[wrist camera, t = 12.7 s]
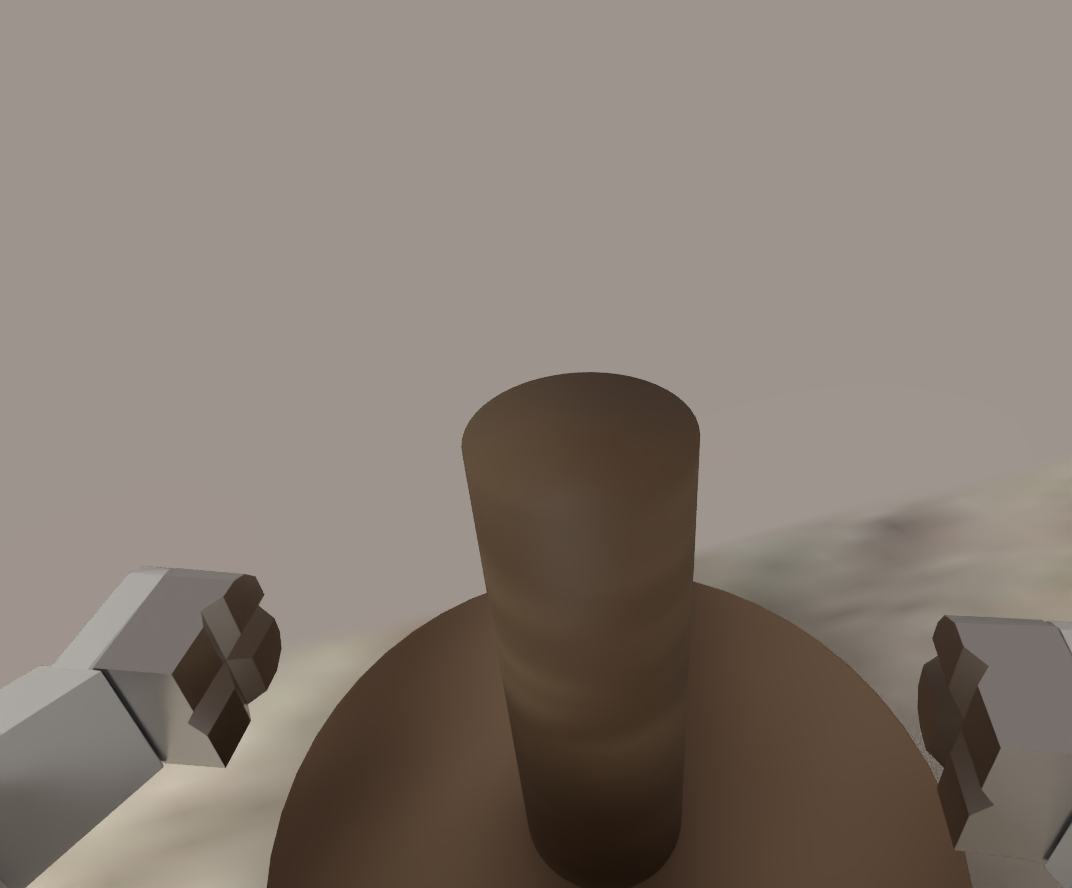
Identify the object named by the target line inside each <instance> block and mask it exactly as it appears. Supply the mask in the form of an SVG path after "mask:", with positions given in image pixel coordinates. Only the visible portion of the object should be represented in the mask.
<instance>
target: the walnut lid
mask: <svg viewBox="0 0 1072 888" xmlns="http://www.w3.org/2000/svg"><path fill="white" fill-rule="evenodd" d="M699 447H700V432H699V425H698V422H697V420H696V417H695V416H694V414H693V413H692V411H691V409H690V408H689V407H688V406H687V405H686V404H685V403H684V402H683V401H682V400H681V399H680V398H678V397H677V396H676V395H674V394H673V393H671V392H669V391H668V390H666V389H664V388H662V387H660V386H658V385H656V384H653V383H650V382H648V381H645V380H641V379H638V378H634V377H630V376H625V375H619V374H611V373H596V372H585V373H584V372H583V373H568V374H561V375H554V376H549V377H544V378H540V379H536V380H533V381H529V382H526V383H524V384H521V385H518V386H516V387H513V388H511V389H509V390H507V391H505V392H503V393H501V394H500V395H498V396H496V397H495V398H493V399H492V400H490V401H489V402H488V403H487V404H485V405H484V406H483V407H482V408H480V410H478V411H477V412H476V413H475V415H474V416H473V417H472V419H471V420H470V421H469V423H468V425H467V427H466V429H465V431H464V434H463V438H462V453H463V460H464V466H465V471H466V477H467V483H468V488H469V493H470V500H471V505H472V511H473V517H474V522H475V528H476V533H477V539H478V545H479V550H480V556H481V562H482V567H483V573H484V578H485V584H486V590H487V593H486V594H483V595H481V596H478V597H475V598H472V599H470V600H468V601H466V602H464V603H462V604H460V605H458V606H456V607H454V608H452V609H450V610H448V611H446V612H444V613H442V614H440V615H439V616H437V617H436V618H434V619H432V620H431V621H429V622H428V623H426V624H424V625H423V626H421V627H420V628H418V629H417V630H415V631H413V632H412V633H411V634H409V635H408V636H407V637H406V638H404V639H403V640H402V641H401V642H399V643H398V644H397V645H395V646H394V647H393V648H392V649H390V650H389V651H388V652H387V653H385V654H384V655H383V656H382V657H381V658H380V659H379V660H378V661H377V662H376V663H375V664H374V665H373V666H372V667H371V668H370V669H369V670H368V671H367V672H366V673H365V674H364V675H363V676H362V677H360V679H359V680H358V681H357V682H356V683H355V685H354V686H353V687H352V688H351V689H350V691H349V692H348V693H347V694H346V695H345V696H344V698H343V699H342V700H341V701H340V702H339V704H338V705H337V706H336V708H335V709H334V711H333V712H332V714H331V715H330V717H329V718H328V719H327V721H326V722H325V724H324V725H323V727H322V728H321V730H320V731H319V733H318V734H317V736H316V737H315V739H314V741H313V743H312V745H311V747H310V749H309V751H308V753H307V755H306V757H305V759H304V760H303V762H302V764H301V766H300V768H299V770H298V772H297V774H296V777H295V779H294V782H293V785H292V787H291V790H290V792H289V795H288V798H287V800H286V803H285V806H284V808H283V811H282V814H281V818H280V822H279V826H278V830H277V834H276V838H275V842H274V846H273V850H272V853H271V859H270V867H269V875H268V883H267V888H972V885H971V880H970V875H969V871H968V866H967V861H966V856H965V852H964V851H958V850H954V848H953V844H952V841H951V837H950V834H949V830H948V827H947V823H946V820H945V816H944V813H943V809H942V805H941V802H940V798H939V795H938V791H937V786H938V784H937V781H936V779H935V777H934V775H933V773H932V771H931V769H930V767H929V765H928V763H927V762H926V760H925V759H924V757H923V756H922V754H921V752H920V751H919V749H918V748H917V746H916V745H915V743H914V742H913V740H912V738H911V737H910V735H909V734H908V732H907V731H906V729H905V727H904V726H903V725H902V724H901V723H900V721H899V720H898V719H897V718H896V716H895V715H894V714H893V713H892V711H891V710H890V709H889V708H888V706H887V705H886V704H885V703H884V701H883V700H882V699H881V698H880V696H879V695H878V694H877V693H876V692H875V691H874V690H873V689H872V688H871V687H870V686H869V685H868V684H867V683H866V682H865V681H864V680H863V679H862V678H861V677H860V676H859V675H858V674H857V673H856V672H855V671H854V670H853V669H852V668H851V667H850V666H849V665H848V664H846V663H845V662H844V661H843V660H841V659H840V658H839V657H838V656H837V655H835V654H834V653H833V652H832V651H830V650H829V649H828V648H827V647H825V646H824V645H823V644H822V643H821V642H819V641H818V640H816V639H815V638H813V637H812V636H810V635H809V634H807V633H806V632H804V631H803V630H801V629H800V628H798V627H797V626H795V625H794V624H792V623H791V622H789V621H787V620H785V619H783V618H782V617H780V616H778V615H776V614H774V613H772V612H770V611H768V610H766V609H765V608H763V607H761V606H759V605H757V604H755V603H752V602H750V601H747V600H745V599H742V598H740V597H738V596H735V595H733V594H730V593H728V592H725V591H722V590H719V589H716V588H712V587H709V586H706V585H703V584H699V583H696V582H693V571H694V551H695V530H696V510H697V489H698V468H699Z"/></svg>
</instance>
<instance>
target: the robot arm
mask: <svg viewBox="0 0 1072 888" xmlns="http://www.w3.org/2000/svg"><path fill="white" fill-rule="evenodd" d="M263 596H264V593H263V591H262V589H261V587H260V585H259V583H258V581H257V579H256V577H255V576H250V575H246V574H236V573H225V572H214V571H203V570H192V569H180V568H176V569H175V568H162V567H150V566H142V567H140V568H138V569H136V570H134V571H132V572H130V573H129V574H128V575H127V576H126V578H125V579H124V580H123V581H122V583H121V584H120V585H119V586H118V587H117V588H116V590H115V591H114V592H113V593H112V594H111V596H110V597H109V598H108V599H107V601H106V602H105V603H104V604H103V605H102V606H101V608H100V609H99V610H98V611H97V612H96V614H95V615H94V616H93V617H92V618H91V620H90V621H89V622H88V623H87V624H86V626H85V627H84V628H83V629H82V630H81V632H80V633H79V634H78V635H77V637H76V638H75V639H74V640H73V641H72V642H71V644H70V645H69V646H68V647H67V648H66V650H65V651H64V652H63V653H62V655H61V656H60V657H59V658H58V659H57V661H56V662H55V663H54V664H53V665H52V666H42V665H41V666H39V667H37V668H36V669H34V670H32V671H31V672H29V673H27V674H25V675H24V676H22V677H20V678H19V679H17V680H15V681H13V682H12V683H10V684H9V685H7V686H5V687H3V688H1V689H0V888H25V887H27V886H28V885H29V884H30V883H31V882H32V881H33V880H35V879H36V878H37V877H38V876H39V875H40V874H41V873H43V872H44V871H45V870H46V869H47V868H48V867H49V866H51V865H52V864H53V863H54V862H55V861H56V860H58V859H59V858H60V857H61V856H62V855H63V854H64V853H66V852H67V851H68V850H69V849H70V848H71V847H72V846H74V845H75V844H76V843H77V842H78V841H79V840H80V839H82V838H83V837H84V836H85V835H86V834H87V833H88V832H90V831H91V830H92V829H93V828H94V827H95V826H96V825H98V824H99V823H100V822H101V821H102V820H103V819H104V818H106V817H107V816H108V815H109V814H110V813H111V812H112V811H114V810H115V809H116V808H117V807H118V806H119V805H120V804H122V803H123V802H124V801H125V800H126V799H127V798H128V797H130V796H131V795H132V794H133V793H134V792H135V791H137V790H138V789H139V788H140V787H141V786H142V785H143V784H145V783H146V782H147V781H148V780H149V779H150V778H151V777H153V776H154V775H155V774H156V773H157V772H158V771H159V770H161V769H162V768H163V766H164V765H163V764H162V763H170V764H183V765H195V766H207V767H219V768H226V766H227V764H228V762H229V761H230V759H231V757H232V755H233V753H234V751H235V749H236V747H237V746H238V744H239V742H240V740H241V738H242V736H243V734H244V733H245V731H246V729H247V727H248V725H249V723H250V721H251V718H250V713H249V707H248V704H249V703H250V702H252V701H253V700H254V699H256V698H257V697H258V696H260V695H261V694H262V693H264V692H265V691H266V690H267V689H268V687H269V685H270V683H271V681H272V679H273V677H274V675H275V673H276V671H277V667H278V662H279V657H280V653H281V639H280V631H279V629H278V626H277V624H276V621H275V619H274V618H273V617H272V616H271V615H269V614H268V613H267V612H266V611H264V610H263V609H262V608H261V607H260V606H259V604H260V602H261V600H262V598H263ZM932 639H933V642H934V645H935V648H936V651H937V654H938V656H937V657H935V658H934V659H932V660H931V661H929V662H927V663H926V664H924V666H923V670H922V673H921V677H920V681H919V684H918V714H919V721H920V728H921V732H922V736H923V740H924V744H925V748H926V750H927V751H928V752H929V753H930V754H931V755H932V756H933V757H934V758H935V759H936V760H937V761H938V762H939V763H940V764H941V765H942V766H943V767H944V770H943V773H942V776H941V778H940V781H939V784H938V786H937V791H938V795H939V798H940V802H941V805H942V809H943V813H944V816H945V820H946V823H947V827H948V830H949V834H950V837H951V841H952V844H953V848H954V850H958V851H965V852H973V853H980V854H987V855H994V856H1002V857H1009V858H1016V859H1023V860H1031V861H1038V862H1045V863H1046V865H1045V866H1044V867H1045V868H1046V869H1047V870H1048V872H1049V873H1050V874H1051V875H1052V876H1053V877H1054V878H1055V880H1056V881H1057V882H1058V883H1059V884H1060V885H1061V887H1062V888H1072V622H1062V621H1047V622H1045V621H1043V620H1031V619H1011V618H991V617H971V616H951V615H945V616H944V617H943V618H942V619H941V620H940V621H939V622H938V623H937V626H936V629H935V632H934V635H933V638H932Z"/></svg>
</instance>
